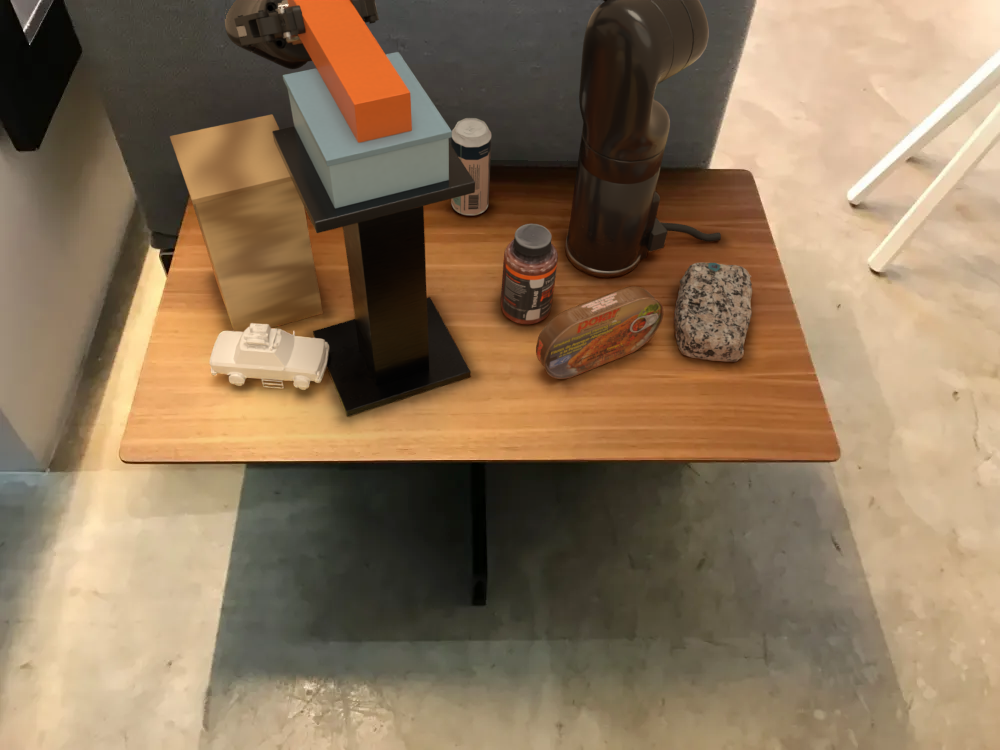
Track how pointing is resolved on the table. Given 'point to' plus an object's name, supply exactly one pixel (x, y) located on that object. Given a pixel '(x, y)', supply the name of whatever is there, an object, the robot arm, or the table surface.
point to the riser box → (250, 222)
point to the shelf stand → (382, 287)
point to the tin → (598, 332)
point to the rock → (713, 311)
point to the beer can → (473, 163)
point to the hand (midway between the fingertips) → (329, 14)
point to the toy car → (269, 356)
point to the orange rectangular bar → (355, 69)
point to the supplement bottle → (529, 275)
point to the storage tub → (368, 142)
